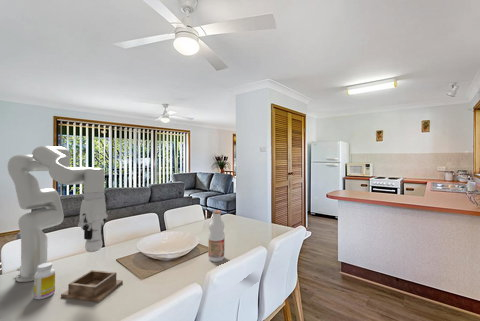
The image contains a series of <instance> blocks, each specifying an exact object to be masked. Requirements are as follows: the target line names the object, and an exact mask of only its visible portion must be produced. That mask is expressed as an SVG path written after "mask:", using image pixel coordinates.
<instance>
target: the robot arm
mask: <svg viewBox="0 0 480 321" xmlns="http://www.w3.org/2000/svg"><path fill="white" fill-rule="evenodd" d="M70 158H71V153H70V151H69V150H68V149H67V148H66V147H63V146H53V145H52V146H51V145H41V146H40V145H39V146H37V147H35V148H34V149H33V150H32V152H31V154H27V153H26V154H16V155H14V156H13V155H12V157H10V158H9V159H8V162H7V172H8V175H9V176H10V178H11V180H12V182H13V185H14V187H15V193H16V197H17V202H18V205H19V207H20V209H21V210H25V211H26V210H27V211H29V210H35V211H29V212H27V213H24V214H22V215H21V216H20V217H19V219H18V221H17V222H18V223H17V224H18V229H19V232H20V266H19V267H18V268H17V269H16V272H19V274H18V275H17V276H16V279H15V280H16V281H17V282H19V283H27V282H34V275H35V274H36V273H37V272H38V270H37V267H38V266H39V265H41V264H43V263H48V243H49V242H48V236H47V235H46V233H45V232H44V231H43V230H45V229H49V228H52V227H55V226H59V225H60V224H62V223H63V222H64V219H65V215H64V210H63V205H62V201H61V197H60V193H58V190H56V189H55V188H50V187H49V188H48V187H47V188H41V187H40V184H39V180H38V179H37V178H36V176H34V175H33V174H32V173H31V172H48V173H49V176H50V178H51V179H52V180H53V181H56V182H57V183H59V184H61V185H63V186H64V185H65V186H71V185H83V200H82V201H81V203H80V204H81V205H80V208H79V209H80V210H79V222H78V224H77V226H78V227H80V228H81V230H83V232H84V234H83V239H84V240H86V239H87V240H91V239H92V230H91V226H92V224H91V223H93V220H94V218H95V216H96V215H97V214H99V213H100V214H102V216H103V219H102V225H101V236H102V235H104V226H105V222H106V220H107V218H108V217H109V215H108V213H107V204H106V203H107V202H106V199H105V198H106V197H105V169H103V168H101V167H90V166H80V167H79V166H75V167H70V164H71V159H70ZM41 208H45V209H41ZM36 209H40V210H36ZM87 224H89V225H88V226H87Z"/></svg>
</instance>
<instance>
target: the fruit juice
mask: <svg viewBox="0 0 480 321" xmlns="http://www.w3.org/2000/svg"><path fill="white" fill-rule="evenodd" d="M221 214H222V211H221V210H219V209H218V210H217V209H216V210H215V209H214V210H212V219H211V220H210V222H209V223H208V229H209V232H208V242H207V244H208V249H207V251H208V252H207V253H208V254H207V255H208V260H209V261H210V262H214V263H215V262H216V263H217V262H222V261H224V259H225V235H226V234H225V231H224V230H225V223H224V221H223V220H222V217H221Z"/></svg>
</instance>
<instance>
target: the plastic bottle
mask: <svg viewBox="0 0 480 321" xmlns="http://www.w3.org/2000/svg"><path fill="white" fill-rule="evenodd" d="M102 219H103V216H102V214H100V213H99V214H97V215H96V216H95V218H94V220H93V223H91V224H92V226H91V230H92V239H91V240H87V239H85V240H86V241H85V243H84V245H85V246H84V248H85V251H86V252H88V253H94V252H98V251H100V250H101V249H102V248H103V240H102V235H101V225H102ZM88 225H89V224H87V226H88Z"/></svg>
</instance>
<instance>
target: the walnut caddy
mask: <svg viewBox="0 0 480 321" xmlns="http://www.w3.org/2000/svg"><path fill="white" fill-rule="evenodd" d="M123 282H124V281H123V280H121V279H117V272H113V271H105V270H94V269H91V270H89V271H88V272H86V273H85V274H83V275H81V276H80V277H78V278H76V279H74V280H73V281H71V282H69V283H68V288H67V290H66V291H64V292H62V293H61V294H60V298H65V299H72V300H79V301H88V302H95V303H100V302H101V301H102V300H103V299H105V298H106V297H107V296H109V295H110V294H111V293H112V292H114V291H115V290H116V289H118V287H120V286H121V285H122V284H123Z"/></svg>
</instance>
